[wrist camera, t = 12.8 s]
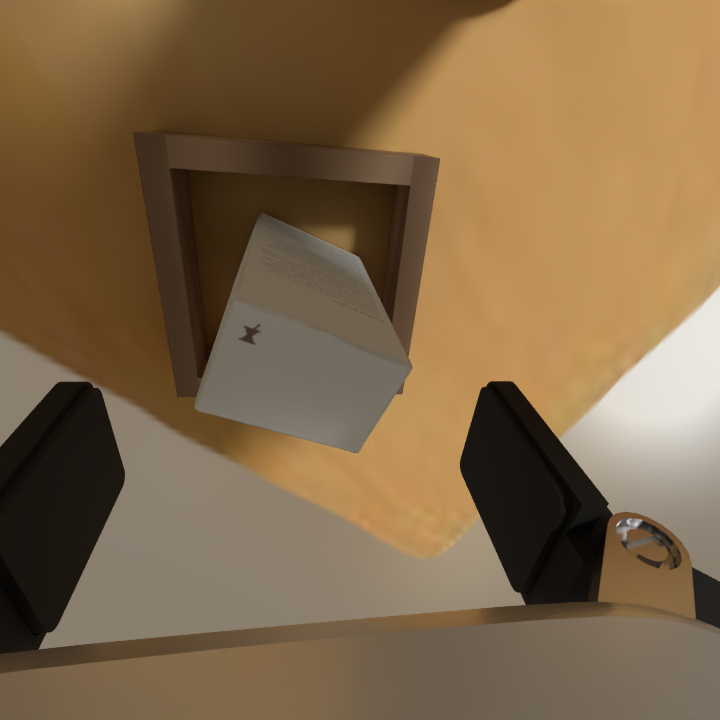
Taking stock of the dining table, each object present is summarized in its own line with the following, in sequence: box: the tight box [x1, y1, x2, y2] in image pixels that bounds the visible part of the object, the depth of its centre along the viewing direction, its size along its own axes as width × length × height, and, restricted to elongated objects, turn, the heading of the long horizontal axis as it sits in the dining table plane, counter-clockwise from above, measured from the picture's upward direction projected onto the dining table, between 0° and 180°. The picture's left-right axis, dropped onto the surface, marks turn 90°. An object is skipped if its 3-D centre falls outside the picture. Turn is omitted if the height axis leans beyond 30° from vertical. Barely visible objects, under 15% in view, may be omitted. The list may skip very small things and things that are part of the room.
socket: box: [133, 131, 440, 397], centre depth 22 cm, size 13×13×3 cm
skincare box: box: [195, 212, 412, 453], centre depth 18 cm, size 6×4×12 cm
